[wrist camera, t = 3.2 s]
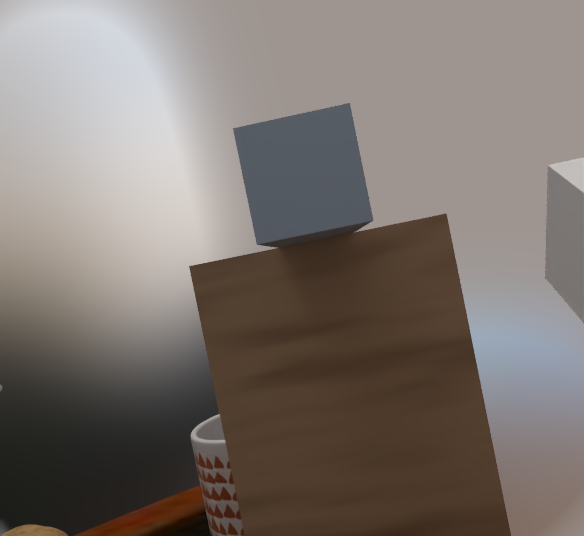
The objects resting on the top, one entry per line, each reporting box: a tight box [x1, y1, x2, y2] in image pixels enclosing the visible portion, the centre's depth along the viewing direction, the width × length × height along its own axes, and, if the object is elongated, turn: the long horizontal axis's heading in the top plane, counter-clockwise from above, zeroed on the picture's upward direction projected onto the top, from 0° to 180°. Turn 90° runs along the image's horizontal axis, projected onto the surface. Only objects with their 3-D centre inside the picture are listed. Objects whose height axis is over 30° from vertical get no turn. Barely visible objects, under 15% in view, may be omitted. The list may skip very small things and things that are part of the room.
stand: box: [189, 214, 511, 536], centre depth 40 cm, size 20×14×30 cm
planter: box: [191, 414, 245, 536], centre depth 63 cm, size 14×14×13 cm
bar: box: [233, 103, 373, 248], centre depth 34 cm, size 30×4×4 cm, turn 177°
